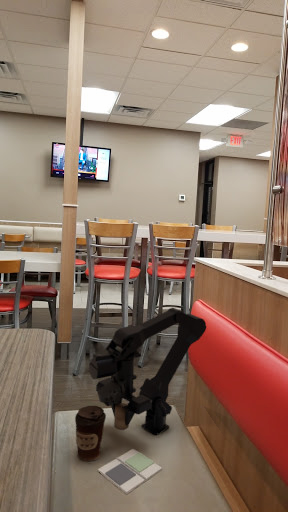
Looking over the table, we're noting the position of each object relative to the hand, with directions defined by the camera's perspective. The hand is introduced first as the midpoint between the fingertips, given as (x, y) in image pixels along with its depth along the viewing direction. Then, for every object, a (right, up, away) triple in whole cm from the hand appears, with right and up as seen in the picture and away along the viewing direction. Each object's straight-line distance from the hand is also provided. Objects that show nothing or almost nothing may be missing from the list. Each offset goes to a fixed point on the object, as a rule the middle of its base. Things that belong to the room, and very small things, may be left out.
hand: (121, 421), depth 115 cm
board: (+3, -7, -13) cm, 15 cm away
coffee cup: (-9, -6, -7) cm, 13 cm away
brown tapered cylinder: (0, -1, 0) cm, 1 cm away
